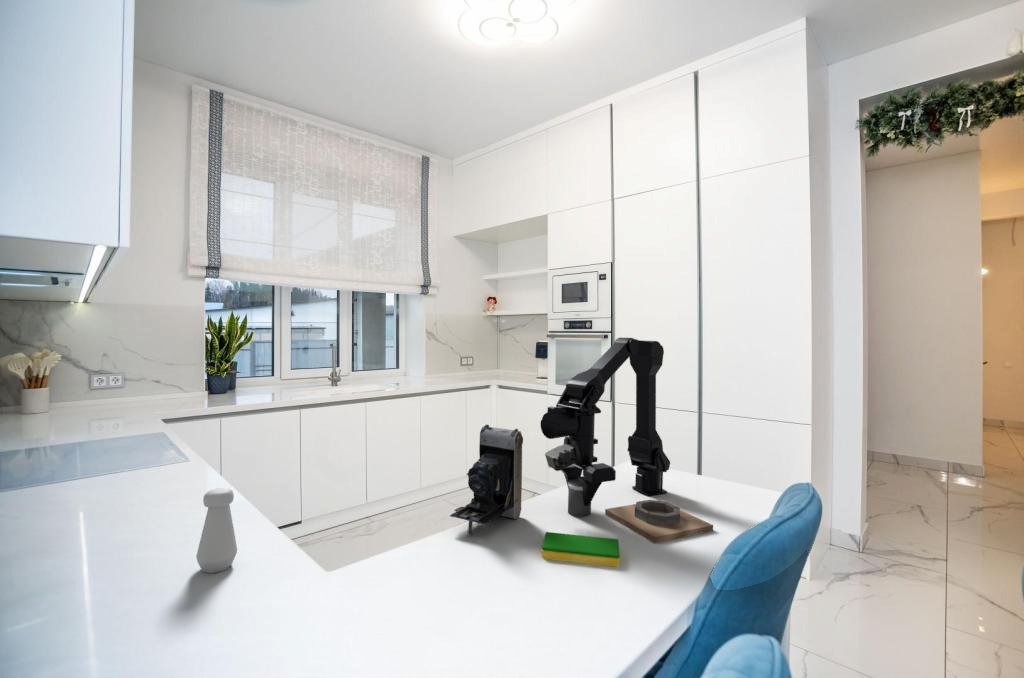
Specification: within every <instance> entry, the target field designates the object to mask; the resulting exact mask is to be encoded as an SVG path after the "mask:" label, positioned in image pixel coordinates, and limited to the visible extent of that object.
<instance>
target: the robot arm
mask: <svg viewBox="0 0 1024 678" xmlns="http://www.w3.org/2000/svg"><path fill="white" fill-rule="evenodd" d="M664 355H665V351H664V347H663V345H662V344H661V342H659V341H658V340H639V339H637V338H634V337H618V338H616V339H615V340H614V341H613V344H612V345H611V346H610V347H609V348H608V349H607V350H606V351H605V352H604V353H603V354H602V355H601V357H599V359H598V360H597V361H596V362H595V363H594V364H593V365H592V366H591V367H590V368H589V369H587V370H585V371H582V372H579V373H577V374H575V376H573V377H571V378H570V379H569V380H568V381H567V382H566V384H565V388H564V390H563V392H562V393H561V395H560V397H559V399H558V401H557V402H556V404H555V406H552V405H551V406H547V412H545V413H544V414H543V416H542V417H541V420H540V430H541V432H542V435H543V436H544V437H545V438H547V439H548V440H551V439H552V440H553V439H559V438H564V439H563V443H562V444H561V445H558V446H555V447H554V448H551V449H550V450H548V451H546V452H544V456H545V458H546V459H545V460H546V463H547V466H548V467H549V468H551V469H553V470H554V471H556V472H561V473H563V475H564V478H565V482H566V485H567V488H568V489H567V490H569V486H568V482H569V480H572V479H579V480H580V481H581V482H582V484H583V500H584V506H589V505H590V503H591V504H592V501H593V500H594V497H595V495H596V493H597V491H598V489H599V488H600V487H601V485H602V483H604V482H606V483H607V482H614V481H616V478H617V477H616V476H617V474H616V473H617V471H616V469H615V468H614V467H613V466H611V465H609V464H606V463H604V462H601V463H599V462H598V457H597V456H595V454H594V453H595V452H594V450H595V449H594V448H595V445H598V444H599V439H598V438H595V422H596V421H595V417H596V414H601V412H602V410H601V409H600V408H599V407H598V406H597V405H596V404H598V402H599V400H600V399H601V398H602V396H603V394H604V393H605V390H606V389H605V387H606V384H607V382H608V381H609V379H611V377H612V376H614V375H615V373H616V372H617V371H618V370H619V369H620V367H621V366H622V365H623V364H624V363H625V362H626V361H627V360H628V359H629V364H630V366H631V368H632V370H633V372H634V374H635V430H634V432H633V433H632V435H629V436H628V438H627V442H628V443H627V444H628V445H627V452H628V455H629V458H630V462H631V466H635V467H636V473H635V485H632V487H631V488H632V490H635V491H637V492H639V493H641V494H644V495H646V496H656V495H661V494H667V493H668V491H667V490H665V489H664V488H663V483H664V473H667V471H669V470H670V465H671V461H670V459H669V458H668V456H667V455H666V453H665V452H664V447H663V440H662V439H661V437H660V434H659V433H658V431H657V428H656V427H657V425H656V424H657V420H656V419H657V374H658V373H659V370H660V369H661V367H662V366H663V362H664ZM597 462H598V463H597Z"/></svg>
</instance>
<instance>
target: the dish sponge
mask: <svg viewBox="0 0 1024 678" xmlns="http://www.w3.org/2000/svg"><path fill="white" fill-rule="evenodd" d="M620 557H621V554H620V545H619V539H617V538H610V537H599V536H589V535H582V534H581V535H580V534H572V533H571V534H570V533H560V532H551V531H547V532H545V534H544V538H543V542H542V546H541V558H542V559H546V560H554V561H555V560H556V561H562V562H572V563H581V564H589V565H592V564H593V565H599V566H607V567H616V568H618V567H620V562H621V560H620V559H621V558H620Z"/></svg>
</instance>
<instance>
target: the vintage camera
mask: <svg viewBox="0 0 1024 678" xmlns="http://www.w3.org/2000/svg"><path fill="white" fill-rule="evenodd" d="M523 444H524V437H523V434H522V431H520V430H519V429H518V428H515V429H507V428H502V427H492V426H490V425H489V424H485V425H484V426H482V427H481V429H480V432H479V445H478V446H479V447H478V448H479V451H478V452H479V453H478V454H479V455H478V456H479V459H478V460H477V461H476V462H474V463H473V464H472V467H470V468H469V469H468V472H467V473H466V475H467V478H468V480H467V482H468V483H467V484H468V487H469V489H470V490H471V491H472V493H473V498H471V501H470V503H468V504H466V505H465V506H460V507H456V508H455V509H454V512H453V513H451V514H450V515H449V517H451V518H456V519H461V520H464V521H468V529H467V530H468V531H467V535H468V536H472V535H473V524H474V523H475V524H476V523H477V524H479V525H480V524H481V525H483V526H485V525H486V524H488V523H490V522H491V521H493V520H495V519H496V518H498V517H500V516H502V517H504V518H505V517H506V518H508V519H509V518H510V519H513V520H515V519H516V520H517V519H519V518H520V516H521V513H522V493H523V492H522V490H523V489H522V486H523V484H522V483H523V479H522V478H523Z"/></svg>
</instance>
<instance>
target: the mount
mask: <svg viewBox="0 0 1024 678" xmlns="http://www.w3.org/2000/svg"><path fill="white" fill-rule="evenodd" d="M604 511H605V512H604V514H605V516H607V517H609V518H611V519H612V520H614V521H616V522H617V523H619V524H621V525H623V526H624V527H626V528H628V529H629V530H631V531H633V532H635V533H636V534H638V535H640V536H641V537H643V538H645V539H647V540H648V541H650V542H652V543H653V544H658V543H662V542H667V541H671V540H675V539H681V538H686V537H690V536H694V535H699V534H704V533H709V532H713V531H714V524H712V523H710V522H707V521H705V520H703V519H701V518H699V517H697V516H694V515H692V514H690V513H688V512H685V511H684V510H681V508H680V507H679V506H676V505H674V504H672V503H670V502H668V501H663V500H660V499H656V500H653V499H647V500H640V501H636V502H635V503H634V504H627V505H621V506H615V507H610V508H605V509H604Z"/></svg>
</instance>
